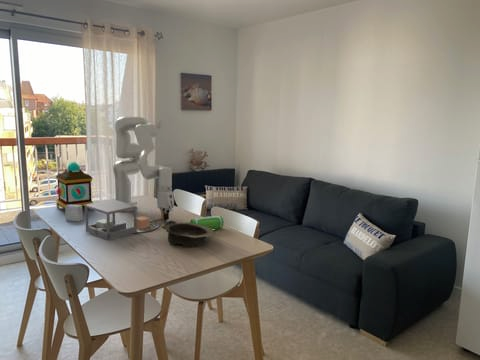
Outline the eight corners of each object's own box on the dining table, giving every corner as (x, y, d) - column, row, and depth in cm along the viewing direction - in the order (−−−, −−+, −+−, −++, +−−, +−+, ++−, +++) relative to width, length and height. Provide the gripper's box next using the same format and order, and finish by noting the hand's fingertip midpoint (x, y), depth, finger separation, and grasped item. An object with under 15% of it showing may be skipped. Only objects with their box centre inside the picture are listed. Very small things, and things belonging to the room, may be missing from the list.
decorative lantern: (85, 203, 245) (83, 159, 239) (97, 210, 231) (95, 163, 225) (53, 207, 231) (51, 161, 226) (64, 215, 217) (61, 165, 212)
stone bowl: (151, 244, 175) (152, 225, 174) (182, 234, 197) (183, 217, 196) (193, 254, 164) (194, 234, 163) (221, 242, 186) (223, 224, 185)
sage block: (106, 227, 198) (106, 218, 197) (113, 229, 194) (113, 220, 194) (96, 230, 193) (96, 221, 192) (103, 232, 190) (103, 223, 189)
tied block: (162, 219, 216) (162, 209, 215) (169, 221, 213) (169, 211, 212) (133, 227, 200) (133, 216, 199) (140, 229, 196) (140, 218, 195)
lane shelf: (114, 224, 204) (113, 199, 201) (136, 232, 192) (136, 206, 189) (85, 231, 190) (84, 204, 188) (108, 240, 179) (107, 212, 176)
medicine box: (82, 219, 210) (82, 205, 208) (78, 221, 205) (78, 207, 204) (69, 218, 210) (69, 204, 209) (65, 220, 206) (64, 206, 204)
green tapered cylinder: (218, 226, 208) (218, 213, 206) (223, 230, 201) (224, 217, 200) (189, 230, 199) (189, 216, 198) (194, 234, 193) (194, 220, 192)
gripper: (179, 189, 209) (179, 220, 212) (161, 185, 218) (161, 215, 221) (169, 191, 203) (169, 223, 206) (151, 187, 212) (151, 217, 215)
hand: (165, 219), depth 214 cm, fingers closed on tied block, 1 cm apart
